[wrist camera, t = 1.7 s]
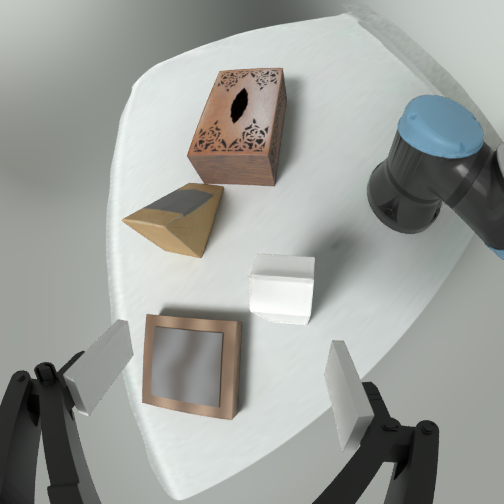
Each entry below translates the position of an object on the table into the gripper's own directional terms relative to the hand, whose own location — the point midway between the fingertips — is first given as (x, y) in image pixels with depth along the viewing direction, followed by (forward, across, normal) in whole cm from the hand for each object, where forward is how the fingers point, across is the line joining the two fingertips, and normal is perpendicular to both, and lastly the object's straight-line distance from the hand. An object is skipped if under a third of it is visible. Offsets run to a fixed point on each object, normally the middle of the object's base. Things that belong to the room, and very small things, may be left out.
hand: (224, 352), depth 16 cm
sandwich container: (+38, -12, +3) cm, 40 cm away
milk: (+28, +7, -9) cm, 30 cm away
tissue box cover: (+47, -3, +21) cm, 52 cm away
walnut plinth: (+24, -9, -20) cm, 32 cm away
